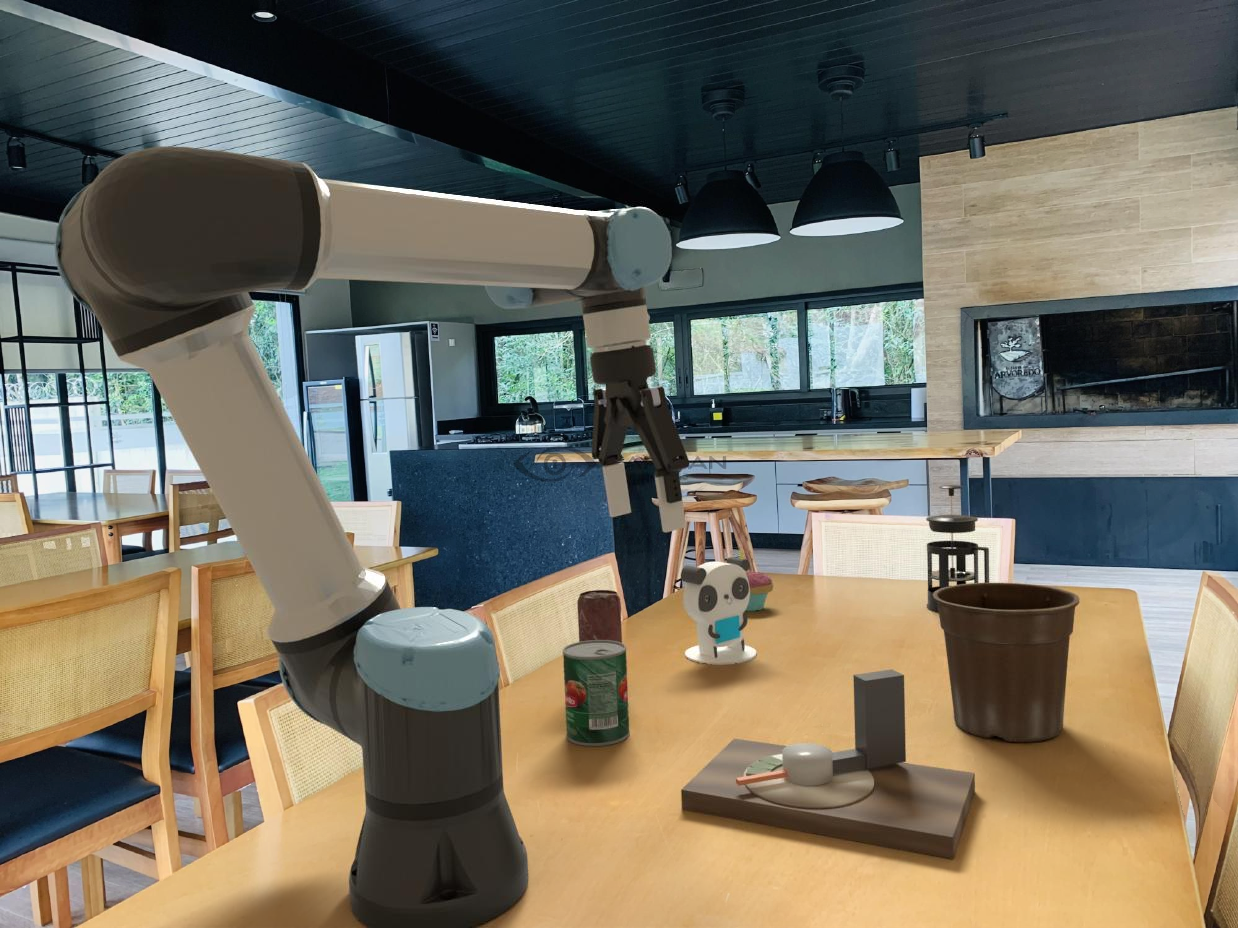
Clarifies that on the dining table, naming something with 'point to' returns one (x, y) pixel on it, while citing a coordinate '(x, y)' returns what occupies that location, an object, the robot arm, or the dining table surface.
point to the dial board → (839, 800)
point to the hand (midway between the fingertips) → (646, 521)
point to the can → (599, 616)
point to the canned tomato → (596, 692)
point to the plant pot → (1007, 657)
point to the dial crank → (874, 736)
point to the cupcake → (757, 588)
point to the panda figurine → (718, 610)
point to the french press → (952, 551)
